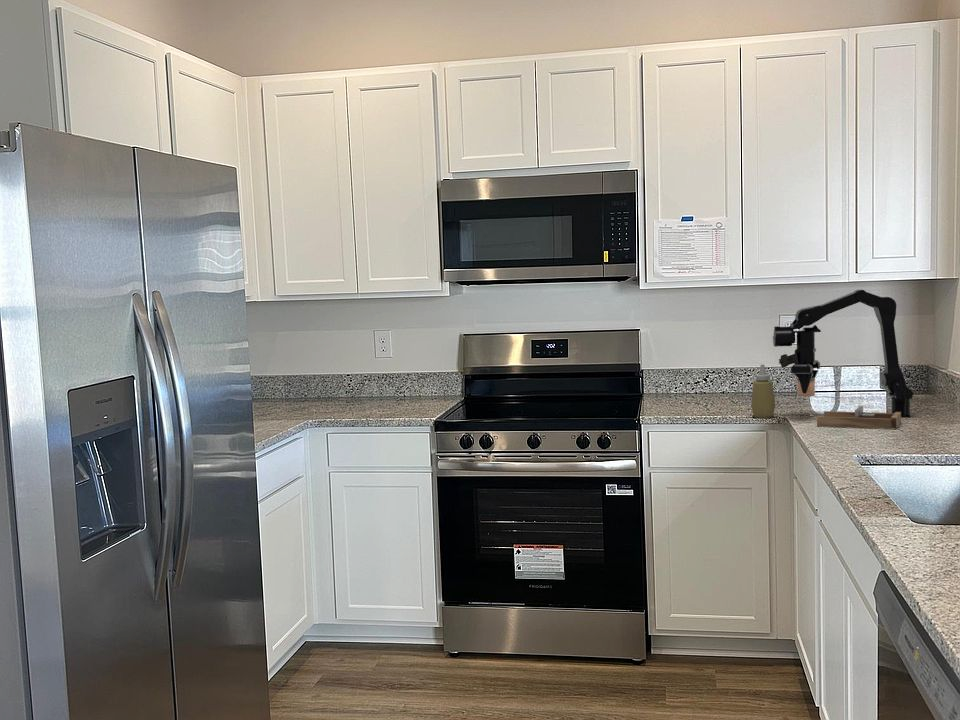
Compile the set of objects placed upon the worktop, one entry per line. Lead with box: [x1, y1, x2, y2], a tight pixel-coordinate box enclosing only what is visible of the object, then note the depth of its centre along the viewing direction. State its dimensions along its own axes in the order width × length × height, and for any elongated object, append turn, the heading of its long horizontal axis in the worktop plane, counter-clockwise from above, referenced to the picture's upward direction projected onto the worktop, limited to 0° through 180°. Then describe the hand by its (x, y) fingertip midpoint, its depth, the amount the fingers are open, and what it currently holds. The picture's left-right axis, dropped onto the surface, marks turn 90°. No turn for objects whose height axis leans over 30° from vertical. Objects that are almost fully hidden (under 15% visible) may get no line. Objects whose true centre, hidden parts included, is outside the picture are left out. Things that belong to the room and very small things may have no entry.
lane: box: [816, 410, 902, 430], centre depth 297 cm, size 14×23×4 cm, turn 60°
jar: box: [796, 376, 816, 397], centre depth 315 cm, size 6×6×6 cm
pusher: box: [854, 405, 875, 418], centre depth 296 cm, size 10×5×4 cm, turn 150°
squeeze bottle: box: [750, 364, 776, 419], centre depth 321 cm, size 8×8×18 cm
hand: (806, 392), depth 315 cm, fingers closed on jar, 6 cm apart
